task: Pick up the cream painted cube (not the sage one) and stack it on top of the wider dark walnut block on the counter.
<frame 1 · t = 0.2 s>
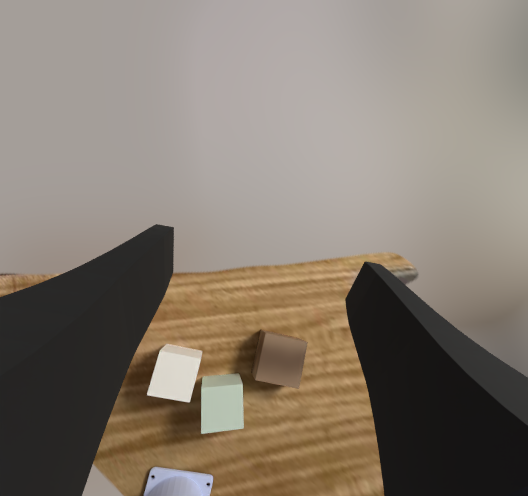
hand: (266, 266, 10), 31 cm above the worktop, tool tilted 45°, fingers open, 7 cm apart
cream cube: (179, 366, 37), on the worktop
walnut block: (275, 354, 40), on the worktop
sage cube: (221, 393, 37), on the worktop
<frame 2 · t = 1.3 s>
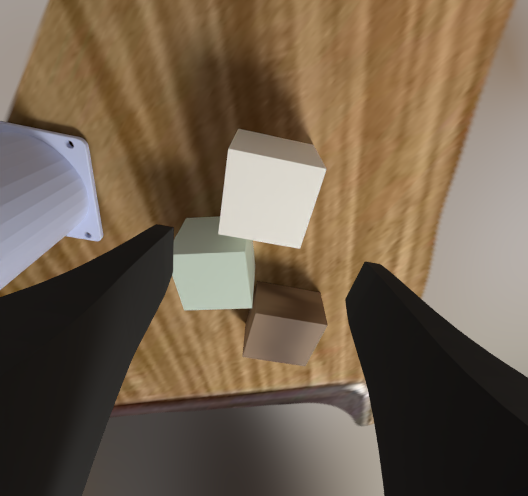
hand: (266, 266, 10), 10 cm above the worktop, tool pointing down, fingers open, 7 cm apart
cream cube: (268, 173, 19), on the worktop
walnut block: (281, 307, 27), on the worktop
sage cube: (222, 242, 22), on the worktop
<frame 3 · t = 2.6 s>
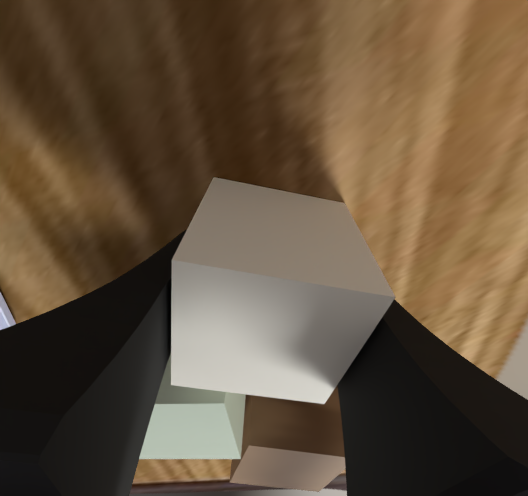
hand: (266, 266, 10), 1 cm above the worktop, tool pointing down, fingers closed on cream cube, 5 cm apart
cream cube: (267, 245, 11), on the worktop, touching gripper
walnut block: (285, 401, 19), on the worktop
sage cube: (199, 331, 15), on the worktop
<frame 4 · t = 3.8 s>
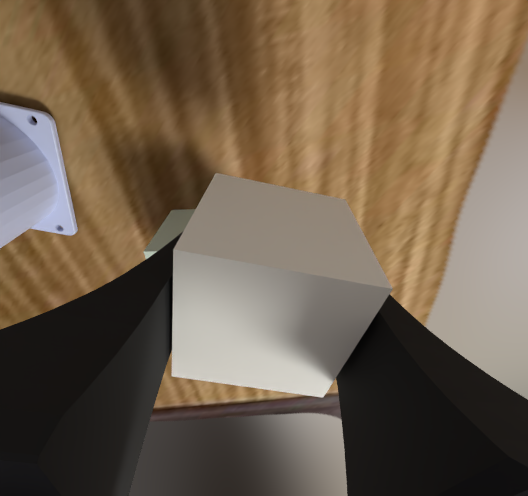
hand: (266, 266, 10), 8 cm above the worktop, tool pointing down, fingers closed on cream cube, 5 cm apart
cream cube: (268, 241, 11), point 7 cm above the worktop, touching gripper
sage cube: (213, 239, 20), on the worktop
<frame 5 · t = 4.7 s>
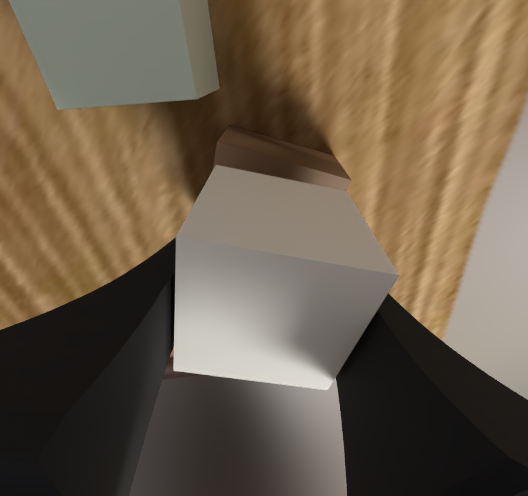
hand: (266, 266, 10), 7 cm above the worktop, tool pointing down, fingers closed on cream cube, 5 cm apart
cream cube: (269, 234, 11), point 6 cm above the worktop, touching gripper
walnut block: (268, 189, 16), on the worktop
sage cube: (156, 28, 12), on the worktop
when the fingers open (7 cm above the worktop, at t = 5.2 s): cream cube drops 2 cm, resting on walnut block.
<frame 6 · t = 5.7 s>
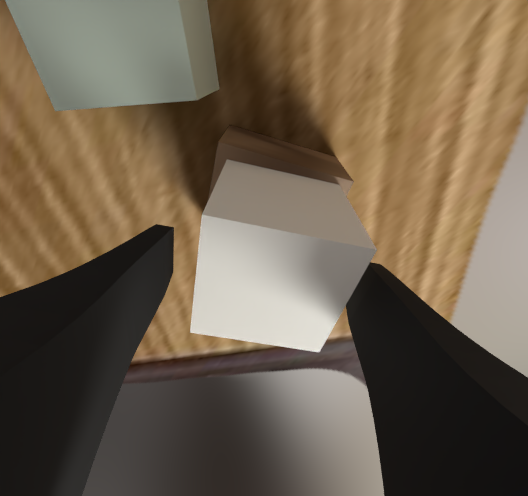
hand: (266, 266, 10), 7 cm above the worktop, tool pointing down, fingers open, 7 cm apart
cream cube: (271, 222, 13), point 4 cm above the worktop, touching walnut block
walnut block: (268, 190, 16), on the worktop, touching cream cube
sage cube: (155, 28, 12), on the worktop
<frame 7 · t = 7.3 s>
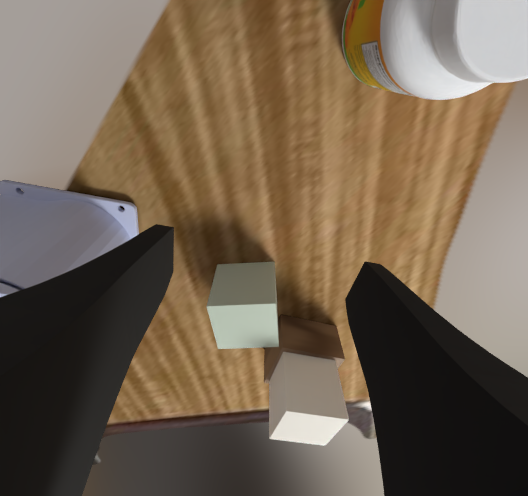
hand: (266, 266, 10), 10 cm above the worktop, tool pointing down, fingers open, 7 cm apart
cream cube: (301, 371, 26), point 4 cm above the worktop, touching walnut block
supplement bottle: (389, 29, 14), on the worktop
walnut block: (298, 336, 29), on the worktop, touching cream cube
sage cube: (248, 284, 25), on the worktop
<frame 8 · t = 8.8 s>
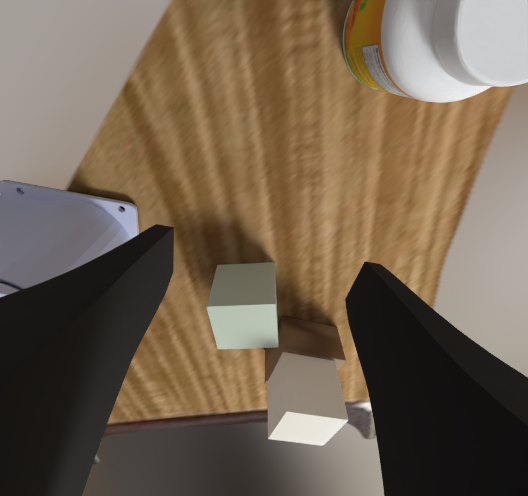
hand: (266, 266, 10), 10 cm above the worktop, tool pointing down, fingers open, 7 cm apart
cream cube: (299, 371, 26), point 4 cm above the worktop, touching walnut block
supplement bottle: (390, 31, 14), on the worktop
walnut block: (299, 337, 29), on the worktop, touching cream cube
sage cube: (248, 284, 25), on the worktop
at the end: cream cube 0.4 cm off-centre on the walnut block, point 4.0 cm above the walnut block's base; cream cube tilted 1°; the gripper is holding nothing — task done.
